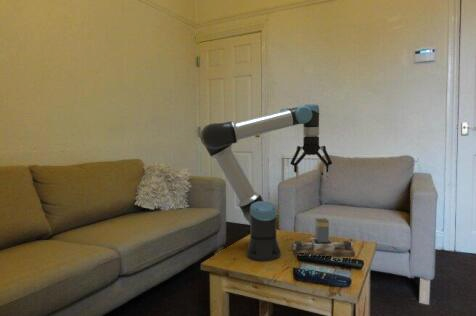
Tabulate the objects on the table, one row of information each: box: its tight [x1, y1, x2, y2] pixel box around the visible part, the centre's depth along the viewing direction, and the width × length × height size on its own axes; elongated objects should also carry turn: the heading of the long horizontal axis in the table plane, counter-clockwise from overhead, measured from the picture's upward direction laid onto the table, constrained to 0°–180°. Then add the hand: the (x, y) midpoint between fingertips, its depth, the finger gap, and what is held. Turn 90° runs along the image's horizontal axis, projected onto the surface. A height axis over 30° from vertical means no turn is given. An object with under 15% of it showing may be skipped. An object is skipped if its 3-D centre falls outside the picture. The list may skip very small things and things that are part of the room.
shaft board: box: [291, 237, 356, 258], centre depth 155 cm, size 27×12×5 cm, turn 89°
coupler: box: [314, 218, 330, 244], centre depth 155 cm, size 5×5×13 cm
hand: (311, 179), depth 168 cm, fingers open, 13 cm apart
